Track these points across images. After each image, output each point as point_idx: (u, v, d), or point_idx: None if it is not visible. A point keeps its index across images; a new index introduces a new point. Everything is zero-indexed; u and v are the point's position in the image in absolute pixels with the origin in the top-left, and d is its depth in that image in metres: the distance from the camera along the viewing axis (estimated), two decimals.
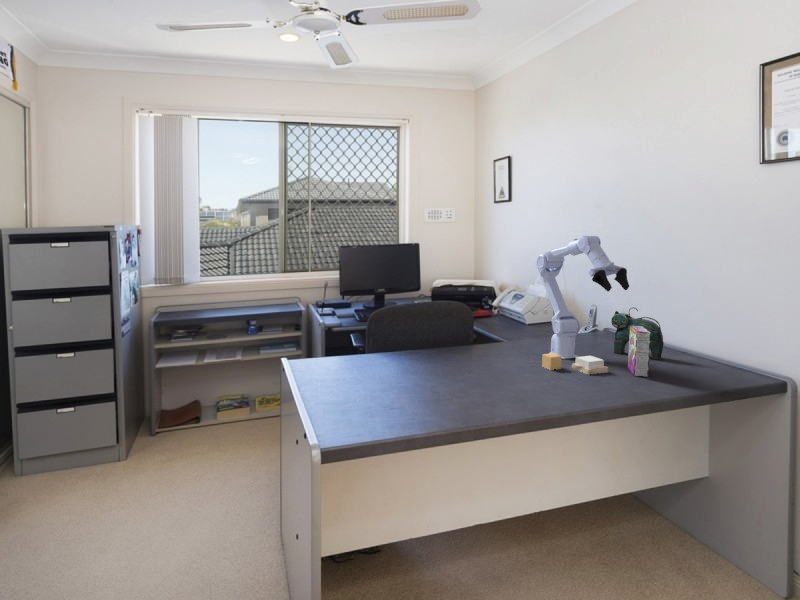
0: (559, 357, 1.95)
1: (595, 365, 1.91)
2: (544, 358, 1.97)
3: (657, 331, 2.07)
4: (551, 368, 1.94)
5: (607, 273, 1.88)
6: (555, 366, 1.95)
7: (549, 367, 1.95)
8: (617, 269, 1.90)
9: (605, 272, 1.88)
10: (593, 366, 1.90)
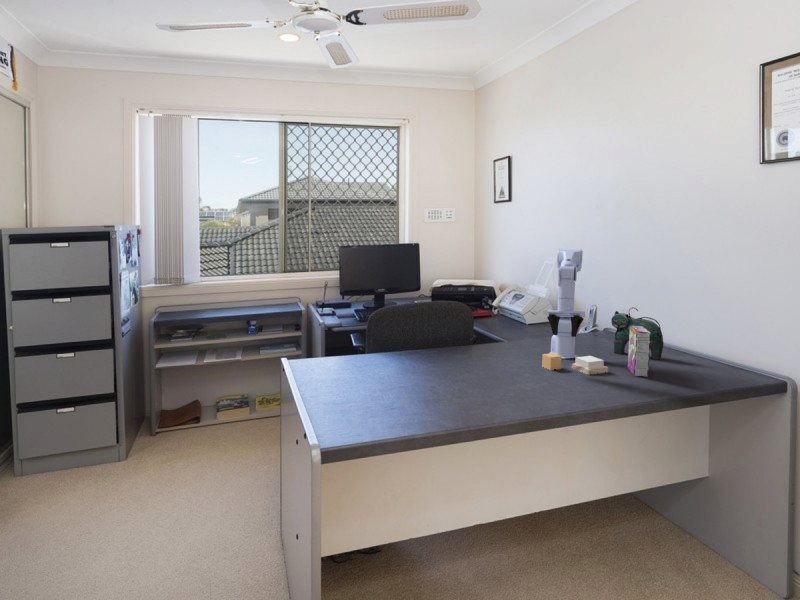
0: (559, 357, 1.95)
1: (595, 365, 1.91)
2: (544, 358, 1.97)
3: (657, 331, 2.07)
4: (551, 368, 1.94)
5: (563, 315, 1.91)
6: (555, 366, 1.95)
7: (549, 367, 1.95)
8: (574, 313, 1.88)
9: (561, 314, 1.92)
10: (593, 366, 1.90)
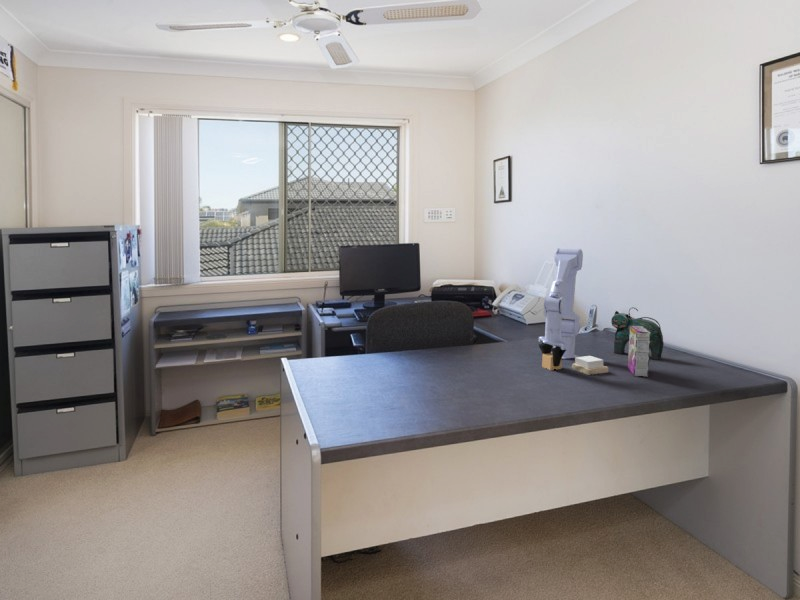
0: None
1: (595, 365, 1.91)
2: (544, 358, 1.97)
3: (657, 331, 2.07)
4: (551, 367, 1.94)
5: (551, 344, 1.97)
6: (555, 366, 1.95)
7: (549, 367, 1.95)
8: (558, 345, 1.92)
9: (549, 343, 1.97)
10: (593, 366, 1.90)
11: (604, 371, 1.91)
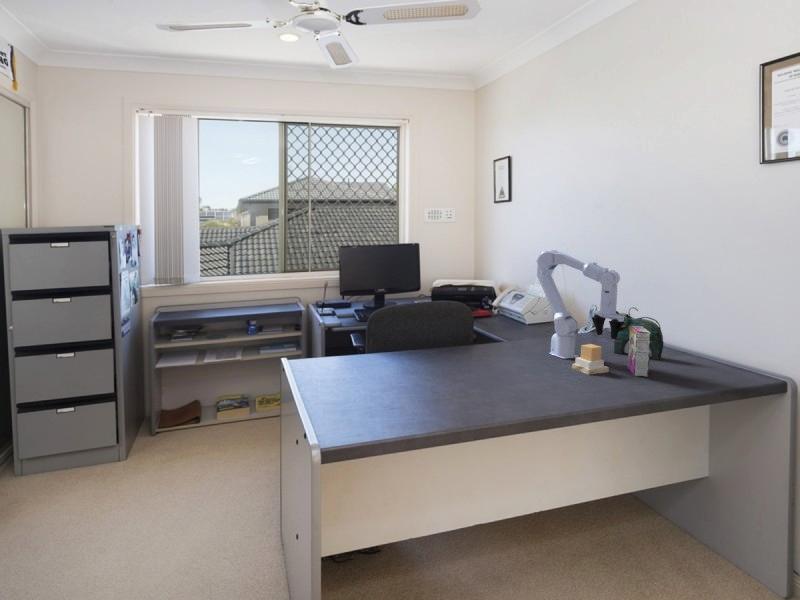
0: (599, 348, 1.91)
1: (595, 365, 1.91)
2: (583, 349, 1.93)
3: (657, 331, 2.07)
4: (592, 359, 1.90)
5: (606, 317, 2.02)
6: (595, 357, 1.91)
7: (590, 358, 1.90)
8: None
9: (604, 316, 2.03)
10: (593, 366, 1.90)
11: (604, 371, 1.91)
